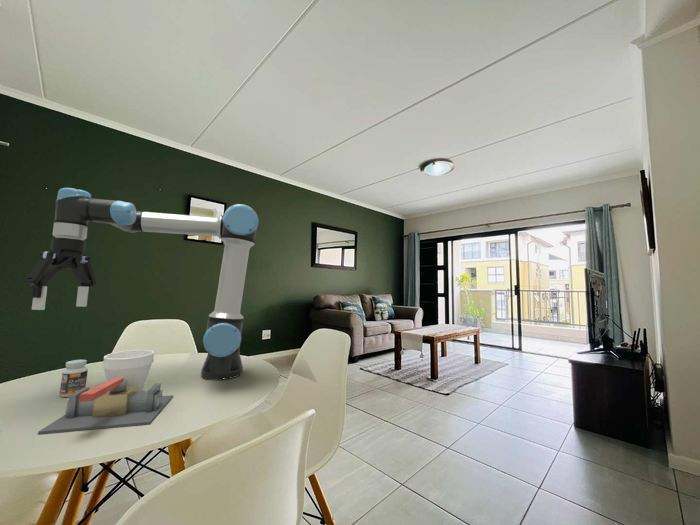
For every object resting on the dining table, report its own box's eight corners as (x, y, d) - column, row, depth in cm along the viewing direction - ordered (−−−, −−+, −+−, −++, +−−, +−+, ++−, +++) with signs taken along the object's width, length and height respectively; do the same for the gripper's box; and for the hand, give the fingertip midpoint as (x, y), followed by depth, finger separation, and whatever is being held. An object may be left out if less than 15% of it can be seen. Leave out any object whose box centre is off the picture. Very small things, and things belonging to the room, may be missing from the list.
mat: (173, 397, 87) (173, 395, 87) (149, 424, 70) (150, 421, 70) (86, 403, 81) (86, 400, 81) (37, 434, 64) (38, 431, 64)
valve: (163, 402, 82) (165, 382, 82) (153, 412, 75) (155, 390, 76) (78, 408, 76) (81, 387, 77) (60, 420, 69) (63, 396, 70)
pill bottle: (68, 398, 84) (73, 364, 85) (54, 396, 85) (58, 362, 86) (89, 392, 89) (93, 359, 90) (75, 390, 91) (79, 358, 91)
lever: (114, 387, 78) (116, 375, 78) (129, 387, 78) (130, 374, 79) (75, 409, 64) (77, 394, 64) (93, 408, 64) (95, 393, 65)
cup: (138, 407, 80) (142, 358, 81) (87, 410, 77) (92, 359, 78) (158, 391, 92) (161, 349, 93) (114, 394, 89) (119, 349, 90)
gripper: (91, 244, 99) (84, 305, 97) (10, 230, 75) (-1, 311, 73) (113, 245, 100) (107, 305, 98) (40, 231, 75) (30, 311, 73)
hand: (61, 308), depth 85 cm, fingers open, 13 cm apart
